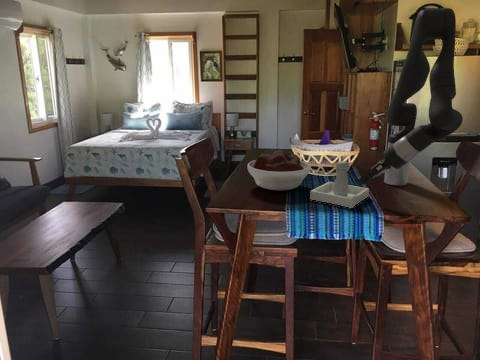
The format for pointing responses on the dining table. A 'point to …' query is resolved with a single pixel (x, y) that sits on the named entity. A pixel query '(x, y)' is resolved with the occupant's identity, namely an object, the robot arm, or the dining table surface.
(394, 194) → the dining table surface
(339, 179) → the salt shaker
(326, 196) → the tray
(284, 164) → the white bowl of pudding
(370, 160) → the dining table surface
